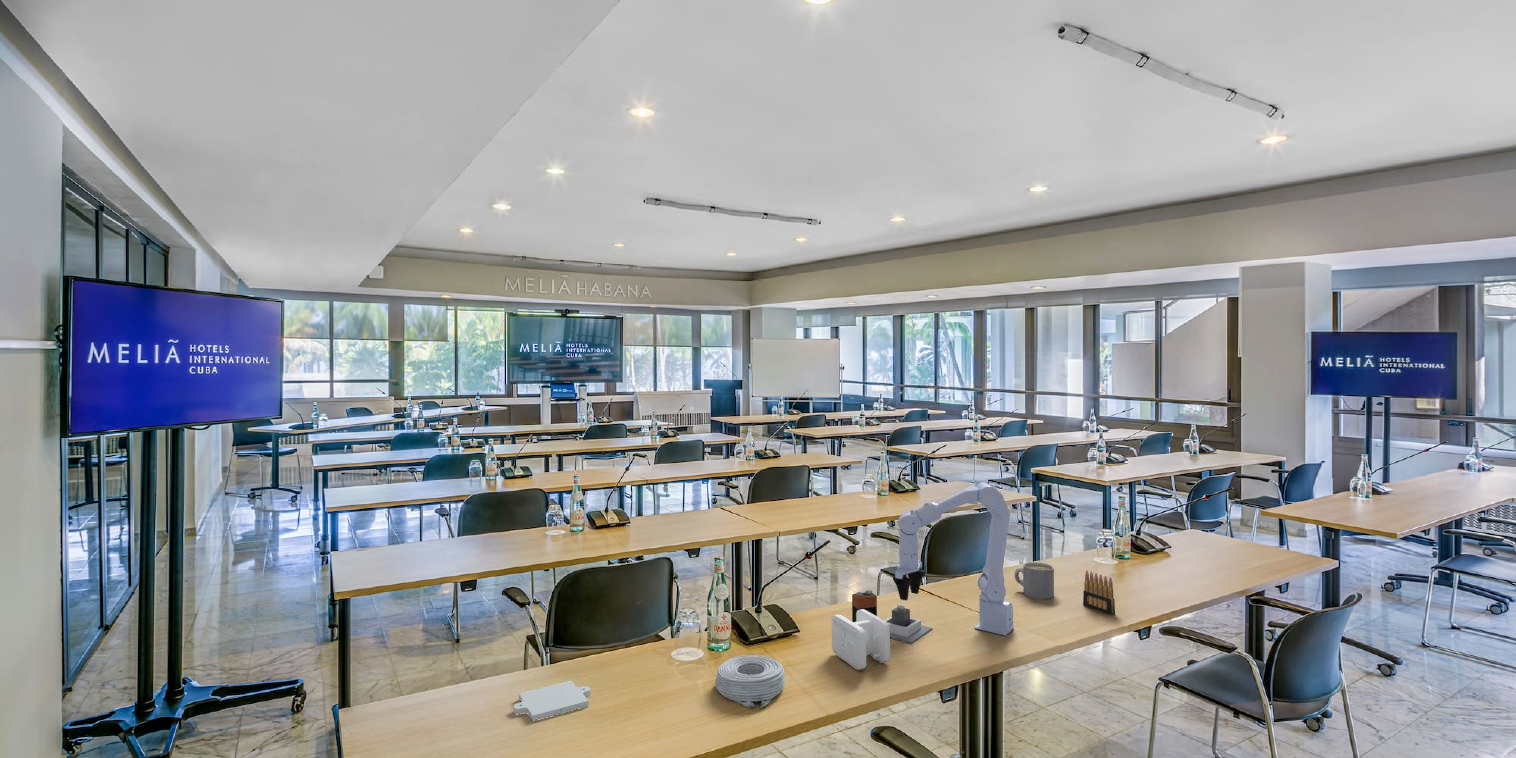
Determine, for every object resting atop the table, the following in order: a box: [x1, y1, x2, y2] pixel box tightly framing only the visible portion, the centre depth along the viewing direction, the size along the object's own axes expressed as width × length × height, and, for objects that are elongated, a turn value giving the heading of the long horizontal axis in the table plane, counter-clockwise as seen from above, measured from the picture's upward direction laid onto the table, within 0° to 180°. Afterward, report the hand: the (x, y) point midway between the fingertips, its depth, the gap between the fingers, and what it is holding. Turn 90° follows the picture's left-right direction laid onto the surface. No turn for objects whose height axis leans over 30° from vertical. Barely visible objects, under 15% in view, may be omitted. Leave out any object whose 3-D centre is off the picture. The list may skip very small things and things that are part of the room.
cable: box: [714, 654, 786, 709], centre depth 170 cm, size 18×18×6 cm
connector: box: [891, 604, 911, 627], centre depth 208 cm, size 4×4×7 cm
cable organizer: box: [831, 609, 891, 671], centre depth 187 cm, size 15×11×12 cm
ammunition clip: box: [1082, 570, 1116, 616], centre depth 224 cm, size 11×2×12 cm, turn 25°
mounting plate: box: [513, 680, 592, 722], centre depth 164 cm, size 18×13×2 cm
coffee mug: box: [1014, 561, 1055, 600], centre depth 242 cm, size 13×10×10 cm
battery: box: [851, 589, 878, 622], centre depth 214 cm, size 4×7×10 cm, turn 109°
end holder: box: [884, 615, 933, 645], centre depth 208 cm, size 14×14×3 cm
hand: (909, 596), depth 211 cm, fingers open, 7 cm apart
